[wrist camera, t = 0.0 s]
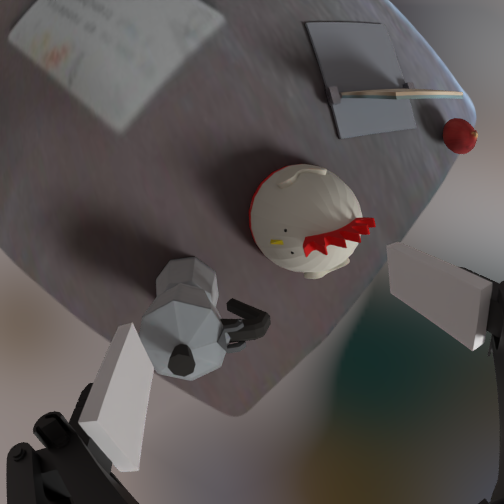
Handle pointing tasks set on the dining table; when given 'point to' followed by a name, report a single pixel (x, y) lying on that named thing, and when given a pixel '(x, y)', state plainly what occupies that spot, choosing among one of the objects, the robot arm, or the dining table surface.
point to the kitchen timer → (306, 220)
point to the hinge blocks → (335, 97)
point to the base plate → (361, 76)
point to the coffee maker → (194, 322)
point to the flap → (401, 94)
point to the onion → (459, 136)
